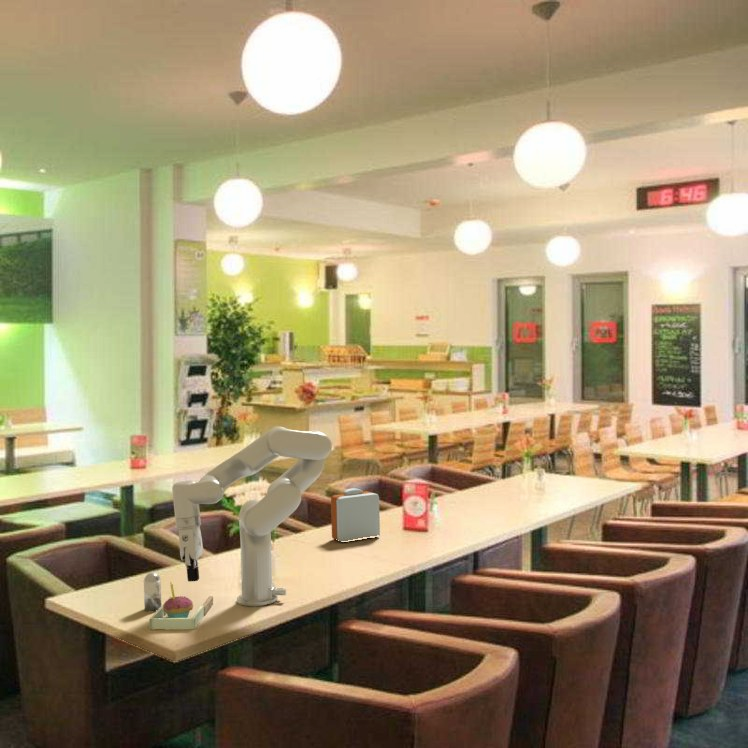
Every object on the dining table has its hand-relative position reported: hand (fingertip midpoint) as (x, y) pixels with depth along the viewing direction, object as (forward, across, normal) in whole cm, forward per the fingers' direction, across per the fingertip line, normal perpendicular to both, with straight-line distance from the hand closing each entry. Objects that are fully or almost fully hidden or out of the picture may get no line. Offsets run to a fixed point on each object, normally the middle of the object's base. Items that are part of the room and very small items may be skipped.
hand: (193, 580), depth 255 cm
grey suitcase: (+13, +87, -45) cm, 99 cm away
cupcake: (+8, -13, +2) cm, 16 cm away
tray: (+8, -14, +2) cm, 17 cm away
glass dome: (+8, -2, +13) cm, 15 cm away
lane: (+8, -3, +2) cm, 9 cm away
